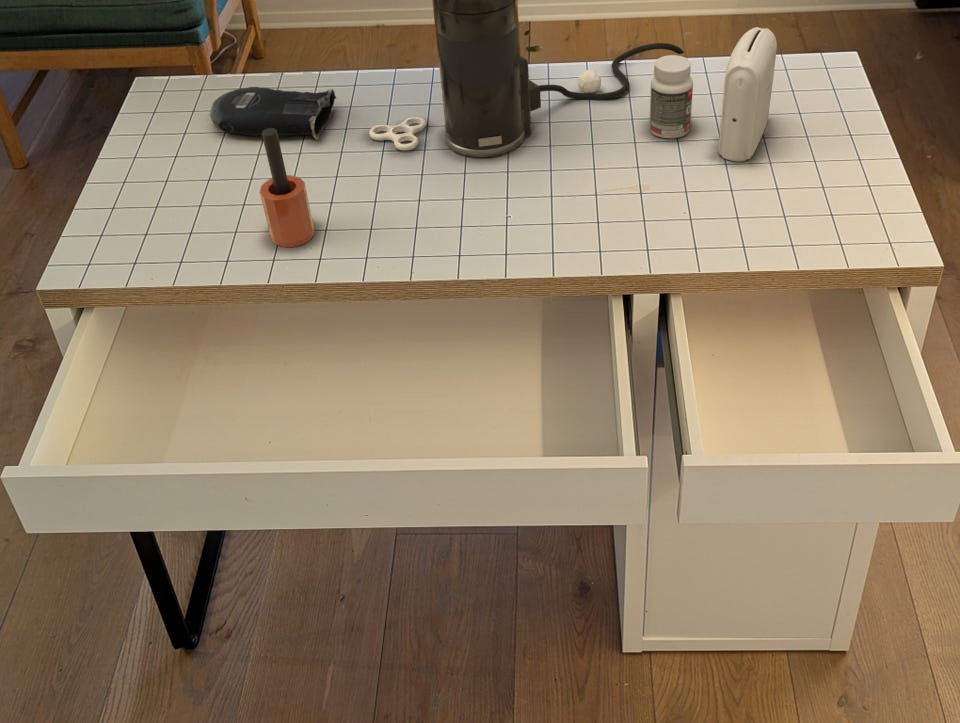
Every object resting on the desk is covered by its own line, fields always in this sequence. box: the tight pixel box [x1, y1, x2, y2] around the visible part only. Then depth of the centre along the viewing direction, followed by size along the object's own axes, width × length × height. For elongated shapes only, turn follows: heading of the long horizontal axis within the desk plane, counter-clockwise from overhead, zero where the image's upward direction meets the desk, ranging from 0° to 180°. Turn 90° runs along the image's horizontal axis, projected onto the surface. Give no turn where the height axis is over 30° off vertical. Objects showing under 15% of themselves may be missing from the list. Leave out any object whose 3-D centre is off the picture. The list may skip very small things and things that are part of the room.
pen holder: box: [259, 174, 315, 248], centre depth 113 cm, size 5×5×6 cm
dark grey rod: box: [261, 128, 290, 195], centre depth 111 cm, size 2×2×12 cm
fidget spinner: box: [368, 116, 427, 151], centre depth 128 cm, size 7×6×1 cm
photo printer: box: [718, 26, 778, 162], centre depth 119 cm, size 10×4×12 cm, turn 157°
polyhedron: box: [577, 69, 602, 94], centre depth 133 cm, size 3×3×3 cm
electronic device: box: [209, 86, 337, 141], centre depth 133 cm, size 9×6×15 cm
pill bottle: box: [648, 54, 694, 139], centre depth 123 cm, size 5×5×8 cm
